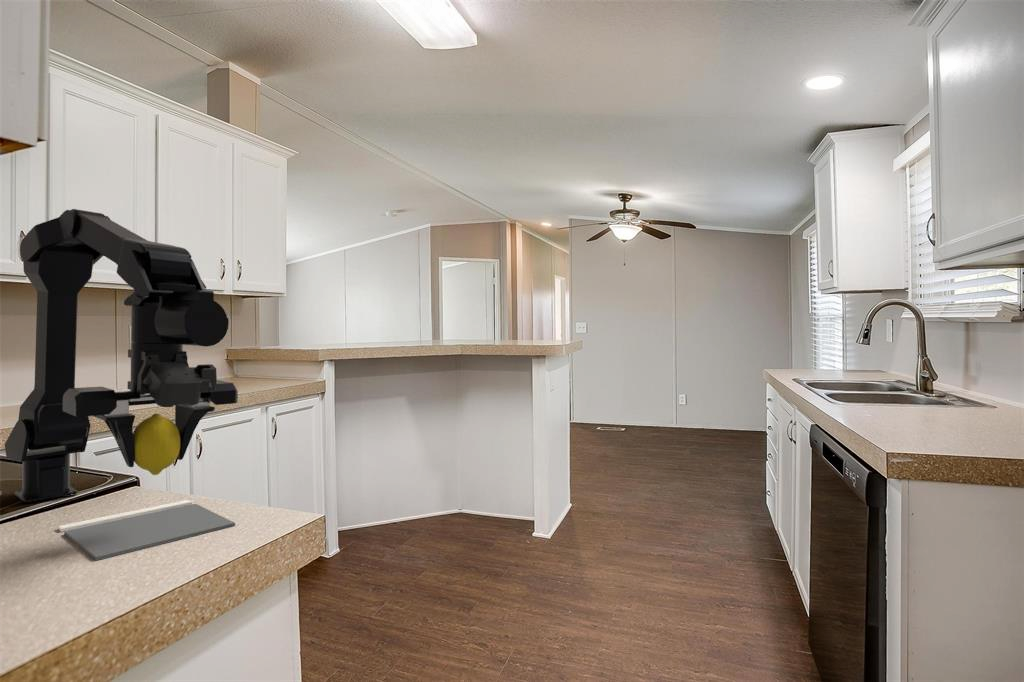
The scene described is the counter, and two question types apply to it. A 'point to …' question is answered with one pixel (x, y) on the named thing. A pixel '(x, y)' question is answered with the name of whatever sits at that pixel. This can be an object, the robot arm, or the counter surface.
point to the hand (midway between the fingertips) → (155, 462)
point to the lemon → (156, 443)
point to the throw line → (123, 515)
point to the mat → (146, 530)
